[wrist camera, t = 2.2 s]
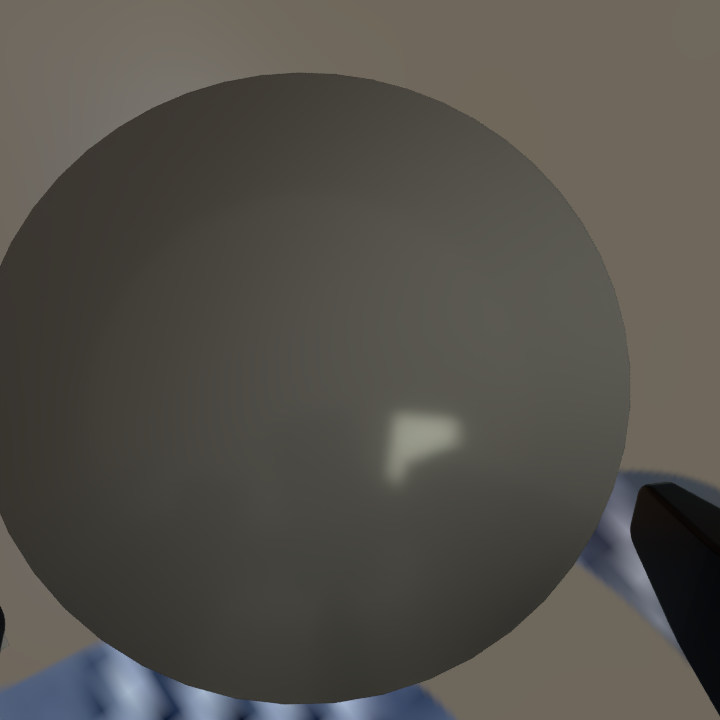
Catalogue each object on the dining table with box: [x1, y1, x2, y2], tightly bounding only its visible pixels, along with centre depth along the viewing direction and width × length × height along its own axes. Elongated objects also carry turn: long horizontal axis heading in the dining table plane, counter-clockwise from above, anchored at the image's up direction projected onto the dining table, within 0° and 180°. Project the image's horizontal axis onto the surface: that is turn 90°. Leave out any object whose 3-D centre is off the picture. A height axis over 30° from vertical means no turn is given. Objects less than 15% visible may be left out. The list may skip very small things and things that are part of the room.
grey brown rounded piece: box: [0, 73, 630, 704], centre depth 12 cm, size 7×7×12 cm
